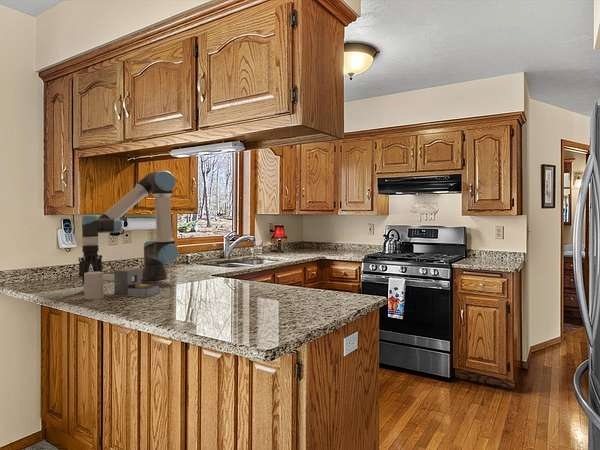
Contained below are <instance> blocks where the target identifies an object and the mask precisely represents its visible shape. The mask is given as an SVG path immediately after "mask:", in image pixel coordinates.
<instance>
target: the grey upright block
mask: <svg viewBox="0 0 600 450" xmlns="http://www.w3.org/2000/svg"><path fill="white" fill-rule="evenodd" d="M103 274H104V272H103V271H102V272H86V273H84V284H83V291H84V299H85V300H99V299H102V298H104V280H103Z"/></svg>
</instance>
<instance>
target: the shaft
mask: <svg viewBox="0 0 600 450" xmlns="http://www.w3.org/2000/svg"><path fill="white" fill-rule="evenodd" d="M88 272H98V271H93V270H89V271H88ZM103 281H113V282H114V274H113V273H112V274H109V273H108V274H107V273H103ZM132 281H135V276H132Z"/></svg>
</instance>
